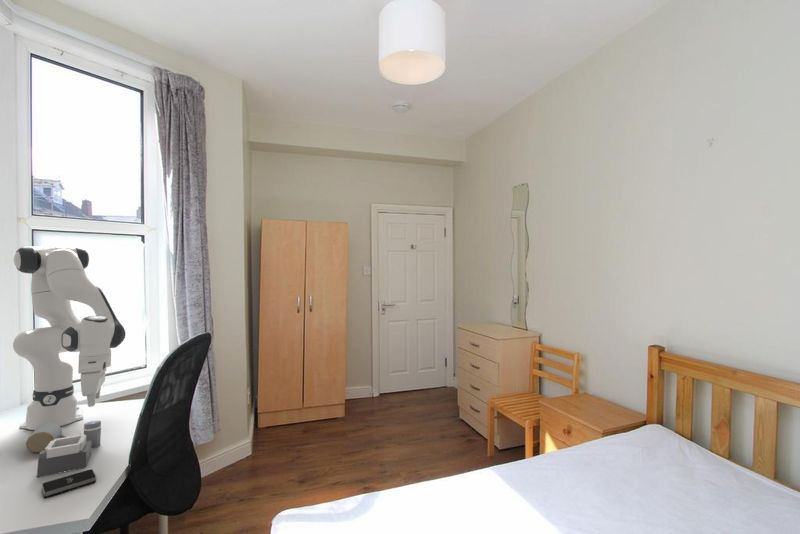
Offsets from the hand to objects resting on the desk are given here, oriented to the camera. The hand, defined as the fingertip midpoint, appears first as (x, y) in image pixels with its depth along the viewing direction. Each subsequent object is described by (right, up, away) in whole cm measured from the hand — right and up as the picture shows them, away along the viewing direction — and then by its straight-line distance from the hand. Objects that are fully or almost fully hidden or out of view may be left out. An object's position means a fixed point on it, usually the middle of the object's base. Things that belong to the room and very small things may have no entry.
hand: (94, 402), depth 129 cm
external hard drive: (+13, -15, -25) cm, 32 cm away
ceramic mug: (-14, -15, -2) cm, 21 cm away
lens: (-1, -15, 0) cm, 15 cm away
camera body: (+2, -15, -14) cm, 21 cm away
